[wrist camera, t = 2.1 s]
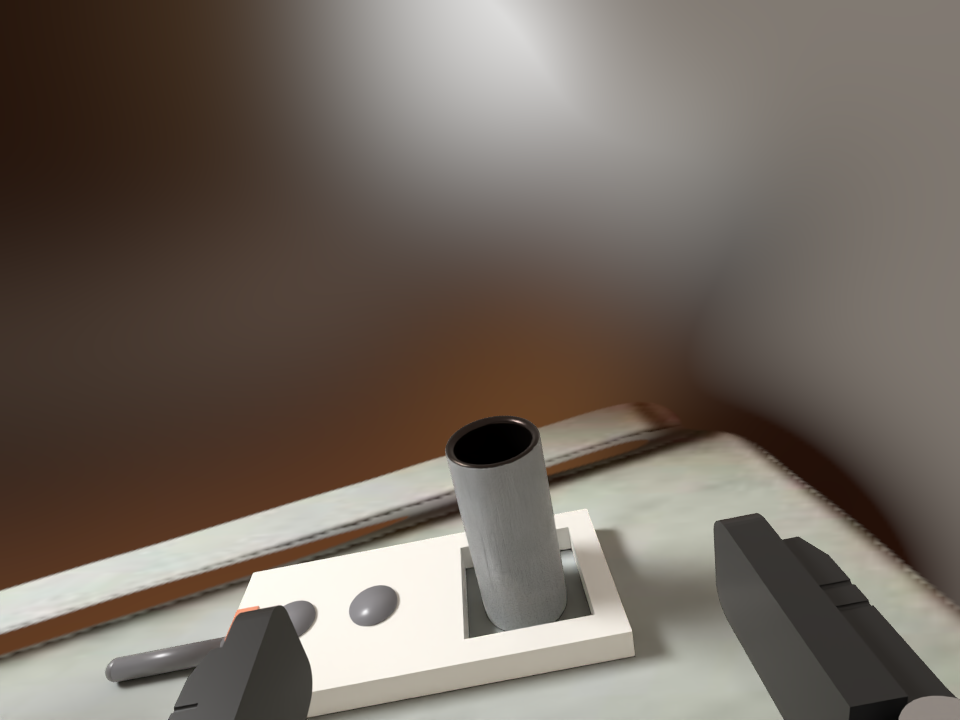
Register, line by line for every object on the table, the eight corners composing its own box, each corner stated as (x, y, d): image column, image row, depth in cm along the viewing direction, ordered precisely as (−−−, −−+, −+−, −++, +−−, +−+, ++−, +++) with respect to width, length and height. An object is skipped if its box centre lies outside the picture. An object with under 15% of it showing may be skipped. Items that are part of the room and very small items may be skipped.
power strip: (62, 763, 27) (40, 733, 26) (151, 613, 36) (136, 587, 35) (635, 655, 27) (631, 621, 26) (589, 529, 35) (585, 500, 34)
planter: (530, 557, 34) (500, 405, 30) (585, 599, 30) (559, 434, 26) (468, 600, 32) (427, 443, 28) (519, 651, 28) (480, 480, 24)
